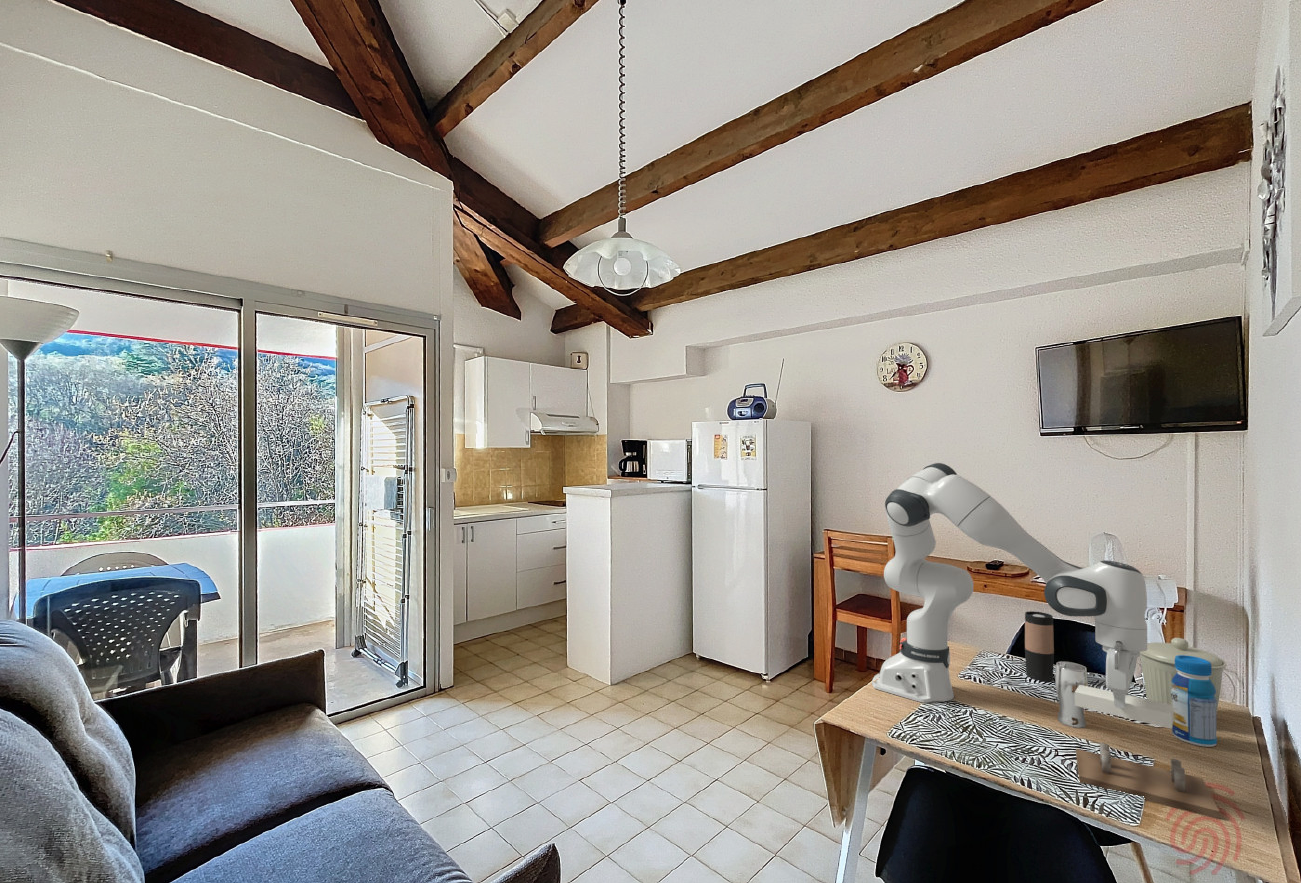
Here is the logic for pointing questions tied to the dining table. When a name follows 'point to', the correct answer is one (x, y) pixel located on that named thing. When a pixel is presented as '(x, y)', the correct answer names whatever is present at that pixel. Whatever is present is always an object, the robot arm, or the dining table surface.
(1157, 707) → the shelf board
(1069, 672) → the beer glass
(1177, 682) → the beverage bottle
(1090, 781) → the peg stand
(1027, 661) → the travel mug
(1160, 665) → the canister
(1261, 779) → the dining table surface
